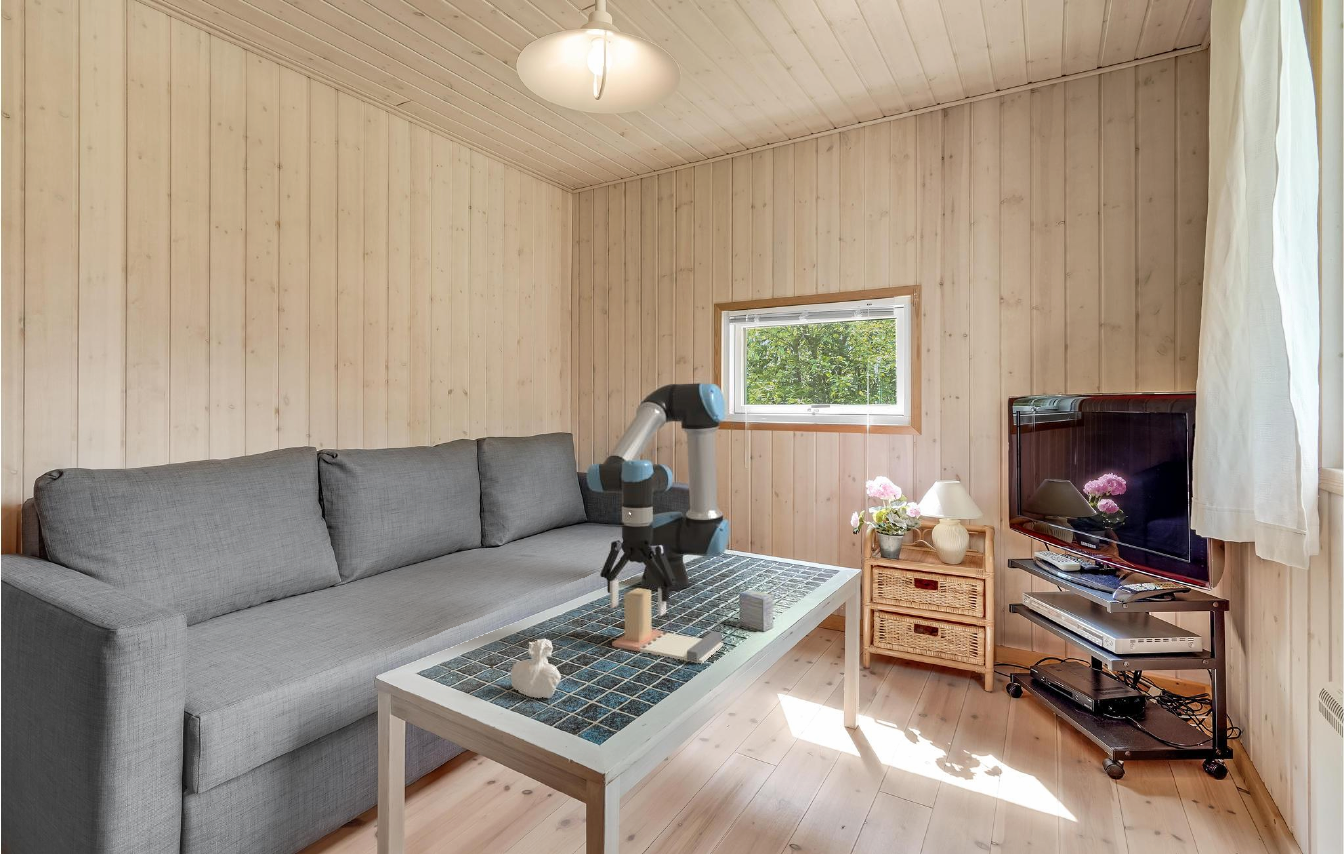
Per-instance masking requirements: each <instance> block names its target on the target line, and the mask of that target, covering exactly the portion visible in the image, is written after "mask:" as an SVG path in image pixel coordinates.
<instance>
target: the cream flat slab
mask: <svg viewBox="0 0 1344 854" xmlns="http://www.w3.org/2000/svg"><path fill="white" fill-rule="evenodd" d="M722 641H723V633H722V632H720V631H714V630H712V631H711V632H709V633H708V634H707V635H706V636H705V637H703V638H700V637H699V638H698V637H694V636H686V635H682V634H676V633H671V632H665V631H663V634H661V635H660V636H658V637H657V638H655V639H654V640H652V641H650V642H649V643H647V644H646V645H644V646H643V647H641V648H640V651H639V652H640V653H643V652H644V653H643V654H648V653H651V654H650V655H654V656H658V655H660V656H659V657H663V656H664V658H668V657H670V659H673V658H674V660H678V659H680V660H679V661H683V660H684V661H683V662H688V661H691V662H690V663H693V662H694V664H698V663H701V664H700V665H702V663H704V661H706V660H707V659H708V658H709V657H711V655H713V654H714V653H715V652H716V651H718V650H719V649H720V648H721V647H722V646H723V647H724V642H722ZM720 650H721V649H720ZM720 650H719V651H720ZM719 651H718V652H719ZM714 655H715V654H714ZM714 655H713V656H714ZM711 658H712V657H711ZM707 661H708V660H707ZM707 661H706V662H707ZM704 664H705V663H704Z"/></svg>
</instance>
